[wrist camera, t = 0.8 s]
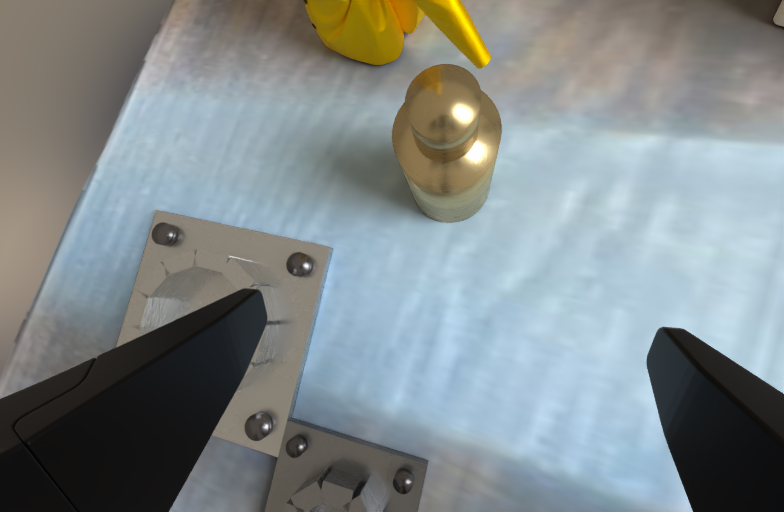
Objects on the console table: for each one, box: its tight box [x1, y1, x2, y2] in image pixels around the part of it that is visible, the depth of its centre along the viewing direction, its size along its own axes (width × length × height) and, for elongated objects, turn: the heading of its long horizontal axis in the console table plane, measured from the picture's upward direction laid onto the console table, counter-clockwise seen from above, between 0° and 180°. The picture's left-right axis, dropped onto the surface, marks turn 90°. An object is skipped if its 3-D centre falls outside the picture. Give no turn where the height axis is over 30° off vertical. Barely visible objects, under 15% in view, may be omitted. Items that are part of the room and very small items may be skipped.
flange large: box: [116, 210, 333, 457], centre depth 23 cm, size 12×12×2 cm
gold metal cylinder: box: [392, 64, 502, 223], centre depth 18 cm, size 4×4×10 cm
